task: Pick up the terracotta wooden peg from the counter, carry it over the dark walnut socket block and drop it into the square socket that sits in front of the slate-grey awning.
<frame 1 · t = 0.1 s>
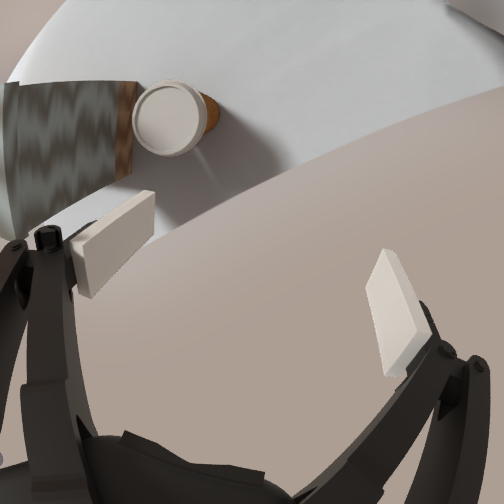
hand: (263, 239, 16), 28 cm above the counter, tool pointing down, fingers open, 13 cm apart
disposable coffee cup: (199, 114, 39), on the counter
socket stand: (93, 126, 42), on the counter
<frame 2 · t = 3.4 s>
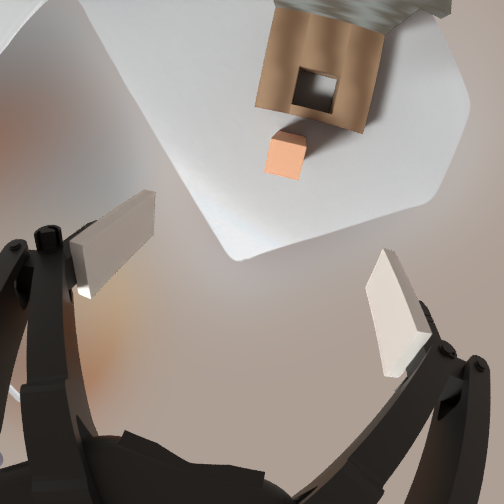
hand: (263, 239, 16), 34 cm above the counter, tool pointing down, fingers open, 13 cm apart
peg: (289, 146, 44), on the counter
socket stand: (320, 66, 37), on the counter
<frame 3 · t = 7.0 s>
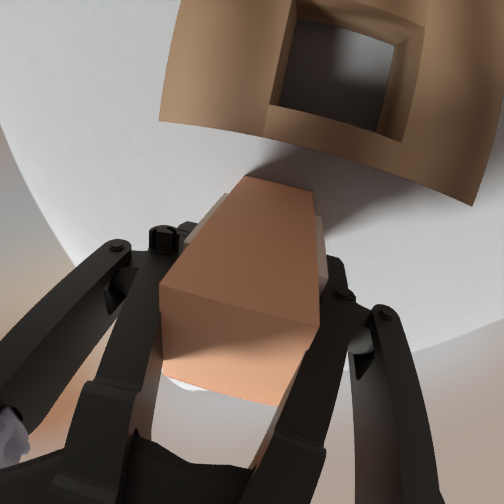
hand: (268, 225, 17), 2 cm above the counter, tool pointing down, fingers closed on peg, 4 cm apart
peg: (271, 214, 19), on the counter, touching gripper
socket stand: (351, 10, 11), on the counter
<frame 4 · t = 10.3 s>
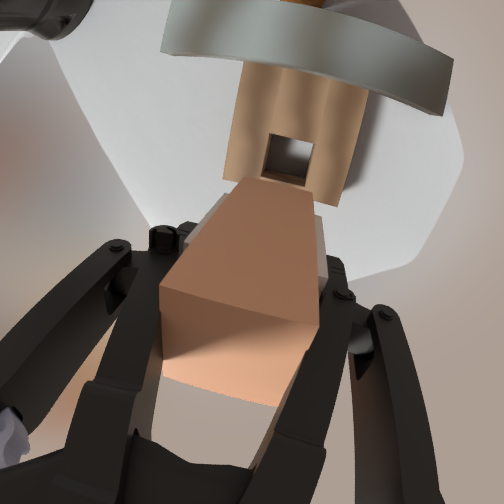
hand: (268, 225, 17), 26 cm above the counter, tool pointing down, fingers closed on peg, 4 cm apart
peg: (271, 215, 19), point 25 cm above the counter, touching gripper
socket stand: (296, 125, 38), on the counter
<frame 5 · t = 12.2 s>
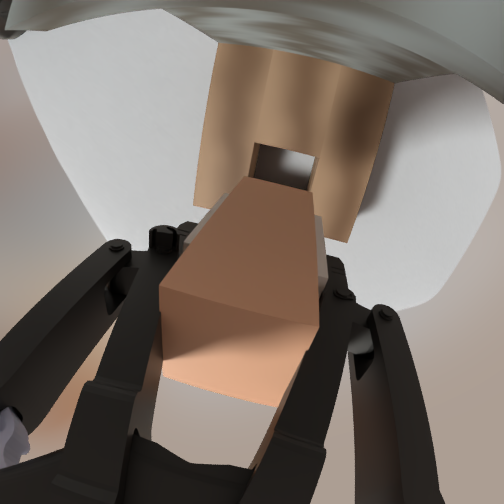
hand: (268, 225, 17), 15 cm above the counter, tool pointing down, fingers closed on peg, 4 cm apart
peg: (271, 215, 19), point 14 cm above the counter, touching gripper
socket stand: (292, 129, 28), on the counter
when the fingers open (8 cm above the counter, at t = 13.9 s): peg drops 6 cm, resting in socket stand.
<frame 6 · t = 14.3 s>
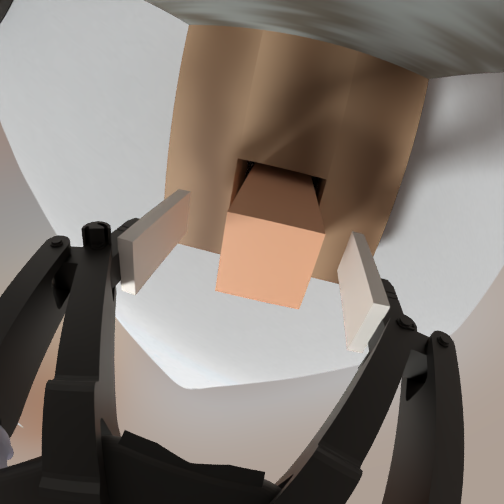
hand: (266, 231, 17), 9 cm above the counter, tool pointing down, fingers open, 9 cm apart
peg: (277, 189, 24), resting in socket stand
socket stand: (290, 138, 22), on the counter
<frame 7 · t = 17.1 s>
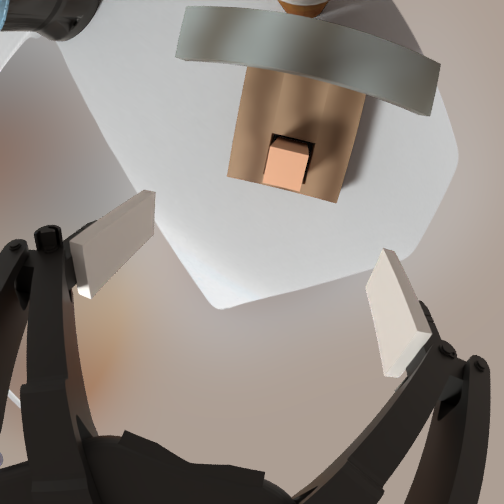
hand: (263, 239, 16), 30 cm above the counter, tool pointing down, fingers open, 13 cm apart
disposable coffee cup: (302, 3, 30), on the counter
peg: (290, 153, 42), resting in socket stand
socket stand: (296, 125, 40), on the counter
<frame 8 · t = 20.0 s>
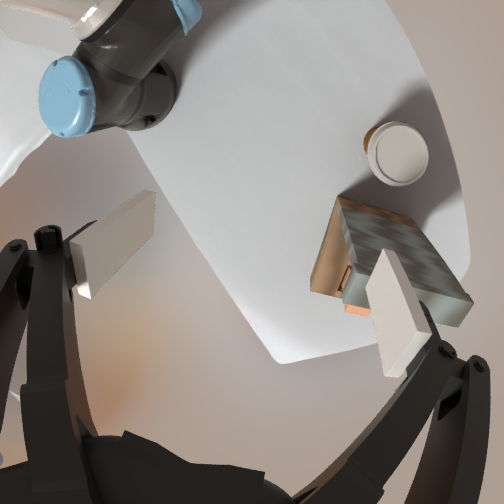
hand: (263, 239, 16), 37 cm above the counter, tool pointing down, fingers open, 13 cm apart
disposable coffee cup: (380, 144, 44), on the counter
peg: (353, 267, 56), resting in socket stand
socket stand: (361, 249, 54), on the counter
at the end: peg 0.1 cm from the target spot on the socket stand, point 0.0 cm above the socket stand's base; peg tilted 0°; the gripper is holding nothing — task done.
